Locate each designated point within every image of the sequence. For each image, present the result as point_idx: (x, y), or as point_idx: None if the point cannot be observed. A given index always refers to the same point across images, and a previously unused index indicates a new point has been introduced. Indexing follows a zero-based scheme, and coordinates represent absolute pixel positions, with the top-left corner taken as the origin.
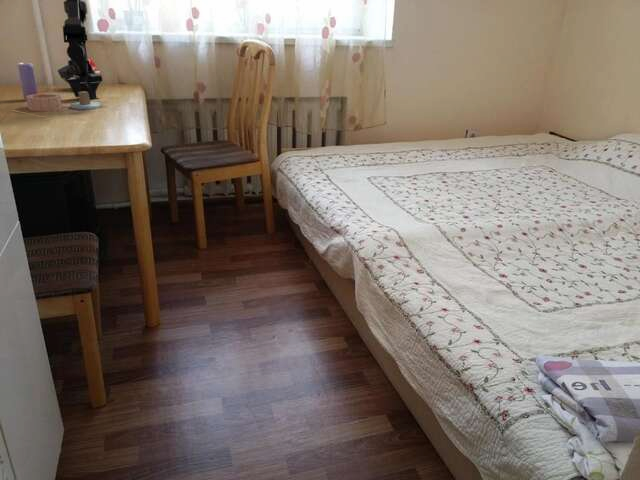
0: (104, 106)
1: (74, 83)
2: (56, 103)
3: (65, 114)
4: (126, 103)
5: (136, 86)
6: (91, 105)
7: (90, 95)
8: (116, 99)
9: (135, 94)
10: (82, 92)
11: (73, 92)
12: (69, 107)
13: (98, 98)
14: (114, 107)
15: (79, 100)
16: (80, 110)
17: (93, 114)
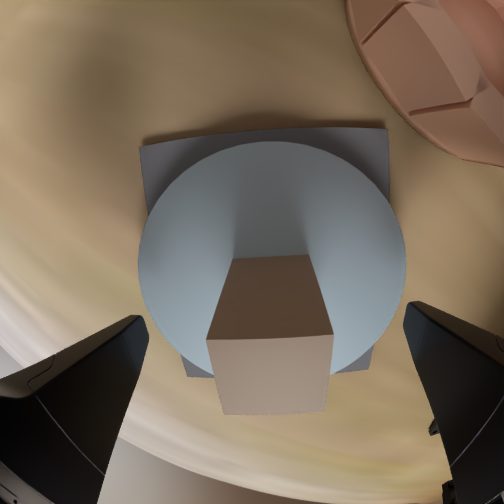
0: (202, 375)
1: (494, 429)
2: (371, 20)
3: (139, 18)
4: (243, 462)
5: (437, 498)
6: (172, 291)
7: (91, 335)
8: (362, 467)
9: (371, 500)
10: (241, 356)
11: (457, 318)
12: (368, 165)
13: (429, 432)
14: (172, 396)
15: (312, 271)
16: (153, 155)
17: (31, 182)
